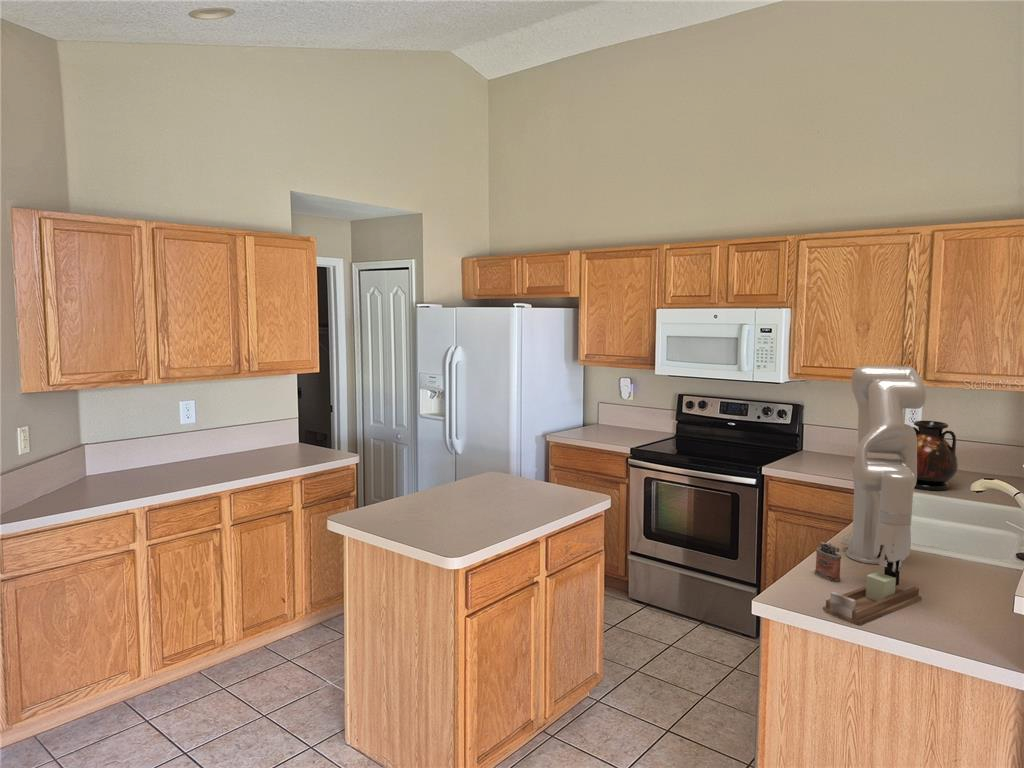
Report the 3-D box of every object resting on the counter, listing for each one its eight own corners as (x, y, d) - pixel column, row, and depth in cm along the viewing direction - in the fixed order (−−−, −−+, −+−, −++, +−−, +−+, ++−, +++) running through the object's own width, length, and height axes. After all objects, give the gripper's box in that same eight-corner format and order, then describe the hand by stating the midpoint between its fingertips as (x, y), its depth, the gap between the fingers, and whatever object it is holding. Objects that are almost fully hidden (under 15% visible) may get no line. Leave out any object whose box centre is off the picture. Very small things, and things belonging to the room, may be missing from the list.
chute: (822, 610, 180) (823, 590, 179) (884, 587, 194) (885, 568, 194) (859, 625, 171) (860, 604, 171) (921, 600, 186) (922, 580, 185)
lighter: (812, 573, 205) (813, 540, 204) (820, 571, 206) (822, 538, 205) (834, 583, 197) (836, 549, 196) (843, 581, 199) (844, 547, 198)
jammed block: (865, 597, 185) (866, 575, 185) (876, 593, 188) (877, 571, 187) (883, 604, 181) (885, 581, 180) (894, 599, 184) (895, 577, 183)
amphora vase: (960, 485, 302) (964, 422, 299) (951, 496, 286) (956, 429, 282) (904, 477, 316) (908, 417, 313) (893, 487, 299) (897, 423, 296)
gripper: (896, 509, 191) (892, 573, 193) (865, 518, 184) (861, 585, 186) (924, 516, 185) (920, 582, 187) (893, 526, 177) (889, 595, 179)
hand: (891, 583), depth 186 cm, fingers closed
